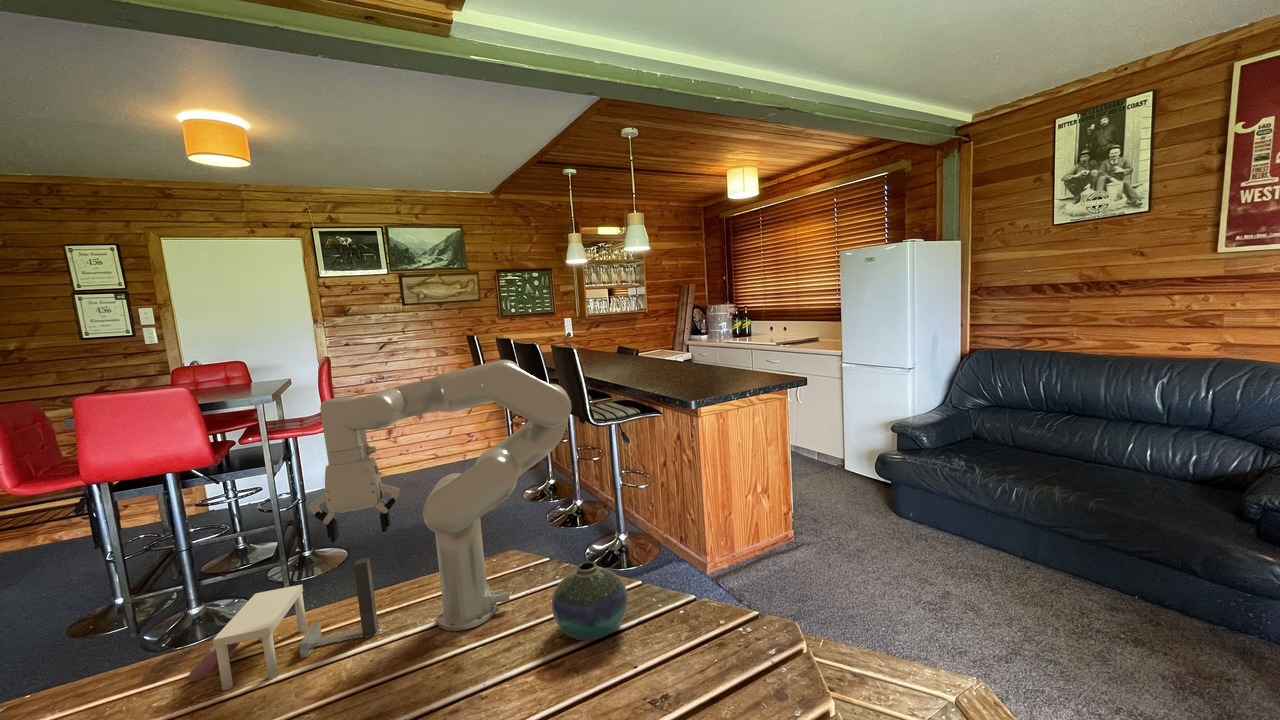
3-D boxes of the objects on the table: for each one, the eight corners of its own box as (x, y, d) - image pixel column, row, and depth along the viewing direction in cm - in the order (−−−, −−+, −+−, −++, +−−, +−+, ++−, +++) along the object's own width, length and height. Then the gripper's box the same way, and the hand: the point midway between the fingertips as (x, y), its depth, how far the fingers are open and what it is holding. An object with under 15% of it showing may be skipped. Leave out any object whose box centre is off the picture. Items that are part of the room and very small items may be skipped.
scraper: (380, 622, 115) (372, 552, 114) (373, 642, 108) (363, 567, 107) (313, 636, 112) (304, 565, 111) (300, 658, 104) (290, 582, 103)
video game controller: (209, 688, 100) (223, 654, 100) (184, 682, 99) (198, 648, 99) (239, 656, 109) (252, 625, 110) (216, 651, 109) (229, 619, 109)
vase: (595, 663, 95) (588, 593, 94) (538, 637, 104) (532, 574, 103) (645, 620, 107) (639, 558, 106) (590, 601, 116) (585, 544, 115)
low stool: (308, 627, 116) (302, 584, 115) (276, 678, 98) (269, 627, 98) (261, 637, 113) (255, 593, 113) (220, 691, 96) (212, 639, 95)
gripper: (396, 445, 114) (407, 520, 116) (308, 459, 110) (320, 537, 111) (390, 452, 107) (401, 532, 108) (295, 467, 102) (308, 551, 104)
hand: (360, 534), depth 110 cm, fingers open, 9 cm apart
